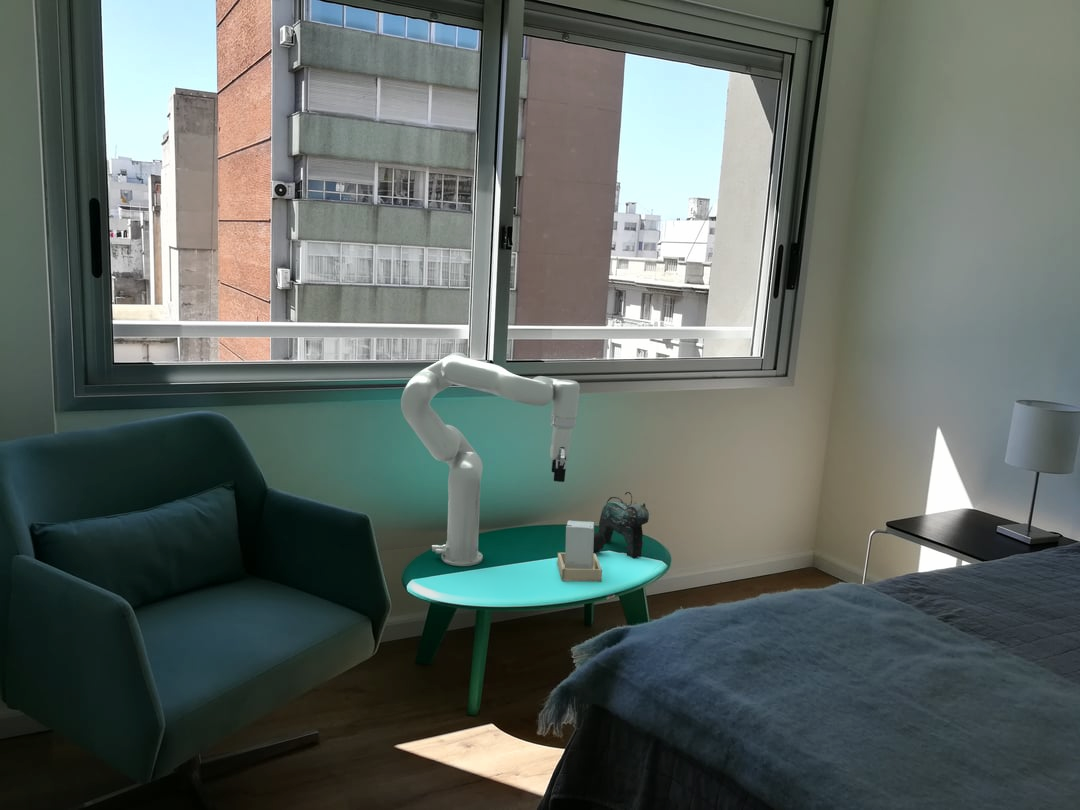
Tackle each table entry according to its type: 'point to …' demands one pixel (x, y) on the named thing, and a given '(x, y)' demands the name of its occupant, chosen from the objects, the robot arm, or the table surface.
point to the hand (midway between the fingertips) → (557, 476)
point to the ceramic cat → (624, 523)
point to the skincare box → (579, 545)
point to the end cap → (598, 542)
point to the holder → (579, 571)
